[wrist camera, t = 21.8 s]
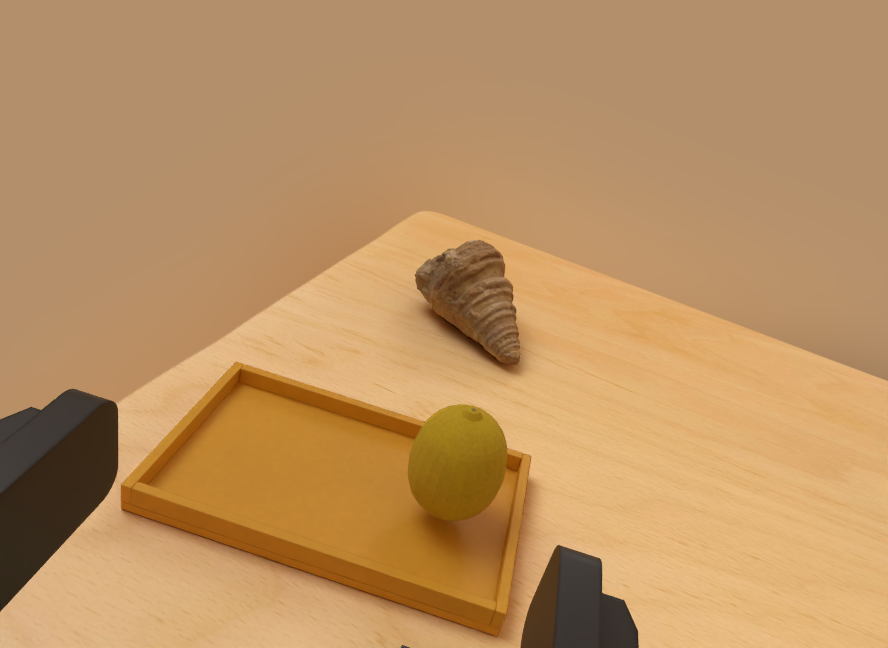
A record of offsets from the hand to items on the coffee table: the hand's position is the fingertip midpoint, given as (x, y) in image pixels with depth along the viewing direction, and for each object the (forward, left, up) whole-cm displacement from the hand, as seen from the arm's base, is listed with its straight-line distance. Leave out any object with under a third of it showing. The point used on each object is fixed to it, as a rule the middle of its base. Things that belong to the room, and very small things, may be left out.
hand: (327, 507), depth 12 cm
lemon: (+2, +23, -21) cm, 31 cm away
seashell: (-1, +48, -22) cm, 52 cm away
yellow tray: (-4, +23, -22) cm, 32 cm away
